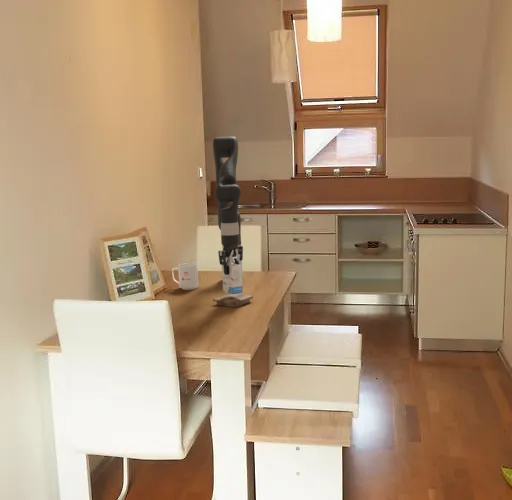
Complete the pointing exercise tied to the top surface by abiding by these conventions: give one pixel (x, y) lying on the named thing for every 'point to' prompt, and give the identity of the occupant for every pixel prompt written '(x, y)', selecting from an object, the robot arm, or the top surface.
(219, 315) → the top surface
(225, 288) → the ink box
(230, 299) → the stand
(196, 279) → the mug
